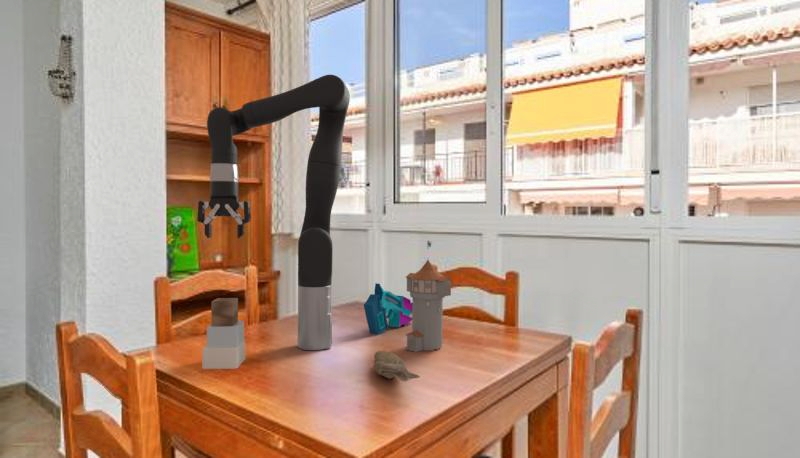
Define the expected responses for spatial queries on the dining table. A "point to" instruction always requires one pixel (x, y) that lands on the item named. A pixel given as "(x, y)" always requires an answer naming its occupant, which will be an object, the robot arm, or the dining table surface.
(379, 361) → the sculpture
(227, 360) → the tower base
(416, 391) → the dining table surface
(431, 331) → the model building
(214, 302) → the walnut block
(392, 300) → the toy gun
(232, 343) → the tower top
